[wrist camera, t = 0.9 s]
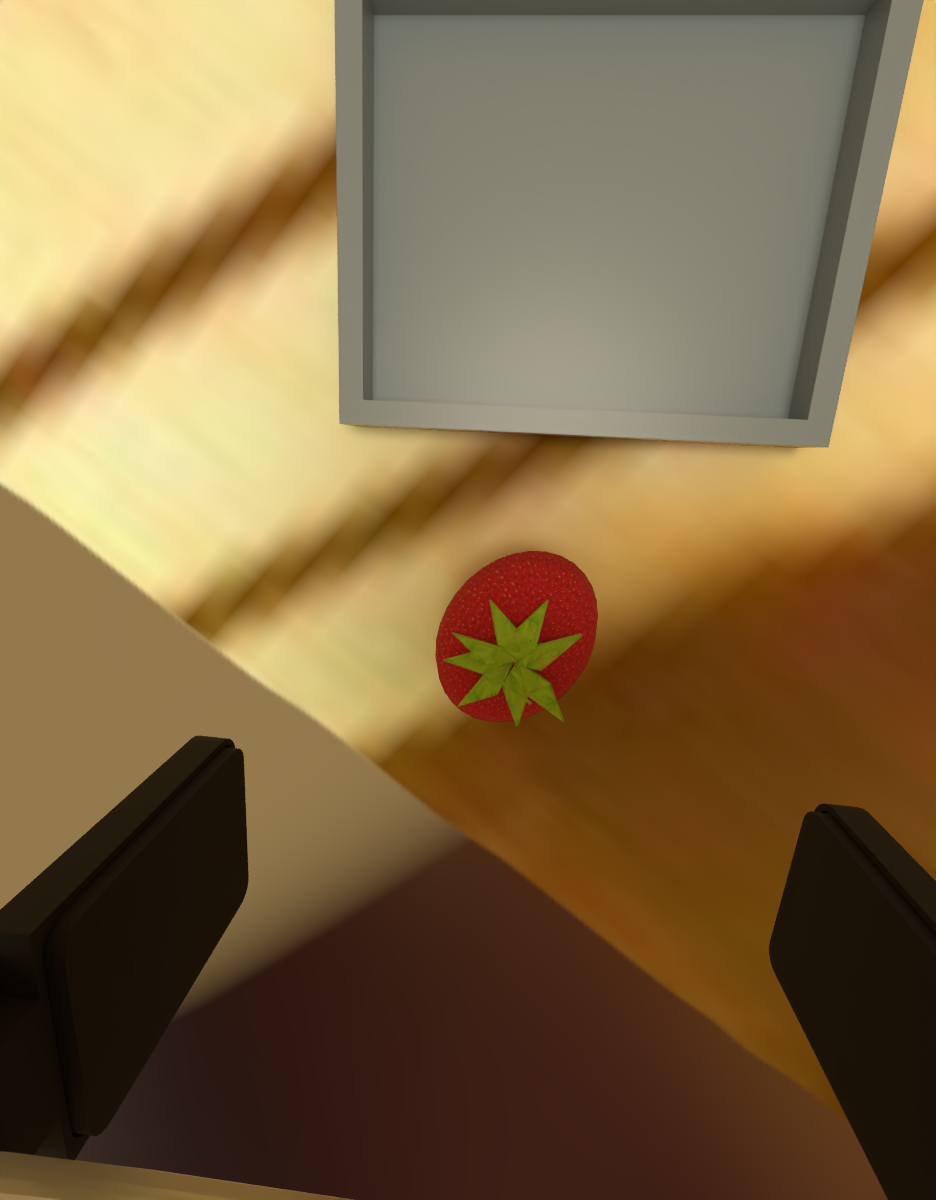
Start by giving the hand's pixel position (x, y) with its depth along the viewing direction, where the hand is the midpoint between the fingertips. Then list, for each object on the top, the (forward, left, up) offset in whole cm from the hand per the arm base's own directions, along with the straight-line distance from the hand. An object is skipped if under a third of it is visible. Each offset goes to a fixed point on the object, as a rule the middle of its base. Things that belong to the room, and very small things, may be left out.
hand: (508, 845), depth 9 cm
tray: (+15, -2, -19) cm, 24 cm away
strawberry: (-1, 0, -19) cm, 19 cm away
